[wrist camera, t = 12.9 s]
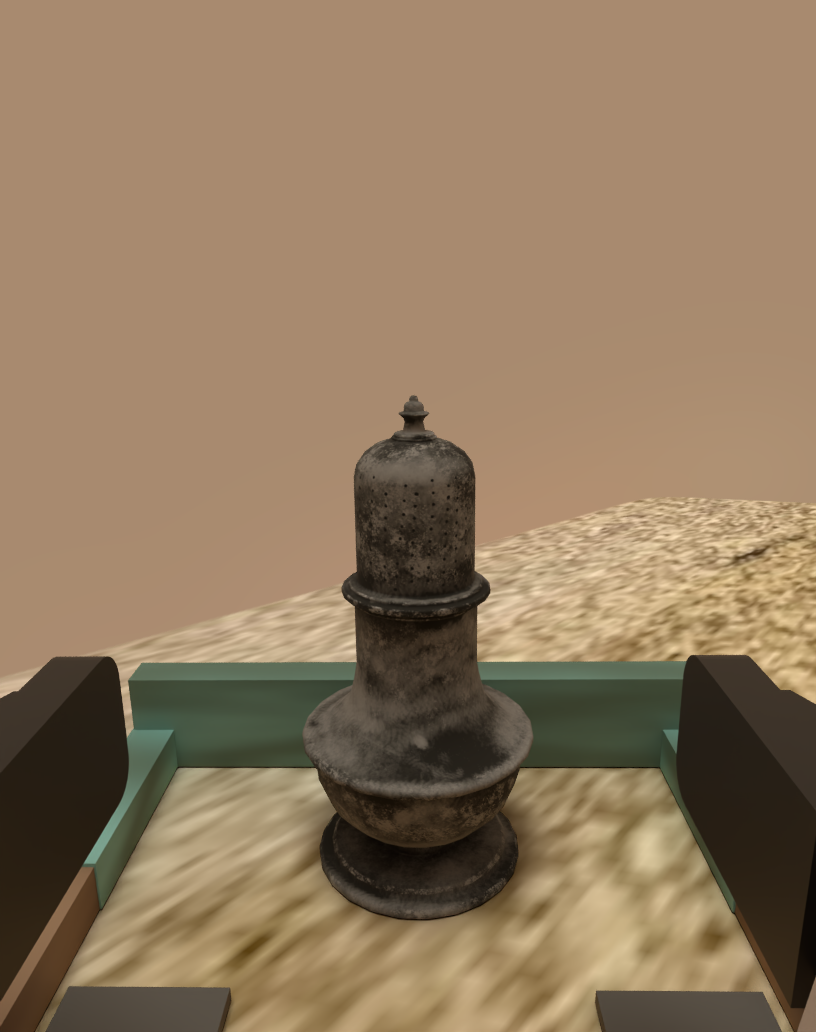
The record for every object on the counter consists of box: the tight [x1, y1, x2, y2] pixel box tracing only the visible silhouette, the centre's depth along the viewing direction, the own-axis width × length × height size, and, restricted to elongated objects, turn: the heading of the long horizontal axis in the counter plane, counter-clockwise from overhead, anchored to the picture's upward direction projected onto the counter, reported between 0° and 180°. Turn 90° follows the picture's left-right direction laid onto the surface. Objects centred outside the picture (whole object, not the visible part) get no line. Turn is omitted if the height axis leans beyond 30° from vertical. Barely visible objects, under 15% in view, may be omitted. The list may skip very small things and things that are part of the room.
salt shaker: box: [302, 396, 533, 919], centre depth 19 cm, size 6×6×12 cm
